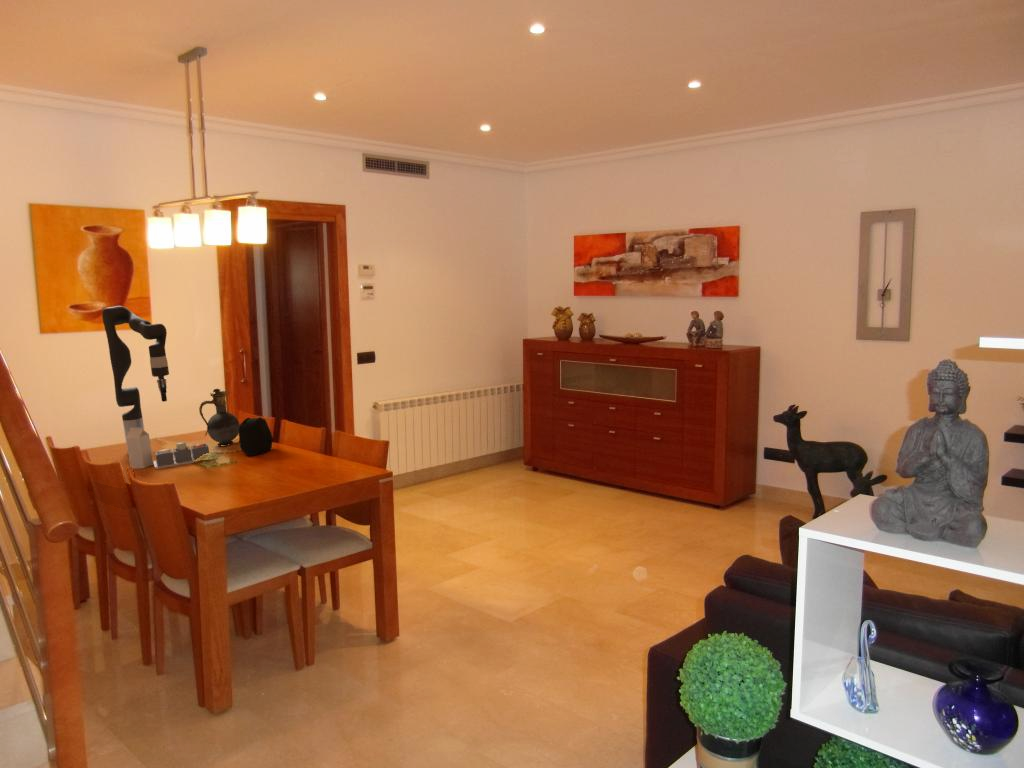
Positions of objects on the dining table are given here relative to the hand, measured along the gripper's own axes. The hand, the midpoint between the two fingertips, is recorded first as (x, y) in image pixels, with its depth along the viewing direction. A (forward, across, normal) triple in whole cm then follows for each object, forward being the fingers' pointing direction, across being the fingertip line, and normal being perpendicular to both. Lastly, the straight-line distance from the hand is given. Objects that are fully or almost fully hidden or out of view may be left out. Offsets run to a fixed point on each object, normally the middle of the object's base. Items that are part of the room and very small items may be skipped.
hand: (164, 401), depth 370 cm
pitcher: (+29, -12, +25) cm, 40 cm away
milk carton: (+29, +4, -14) cm, 33 cm away
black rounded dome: (+29, +16, +37) cm, 50 cm away
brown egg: (+27, +8, +12) cm, 31 cm away
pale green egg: (+25, +8, +4) cm, 27 cm away
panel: (+29, +8, +4) cm, 30 cm away
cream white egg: (+27, +8, -4) cm, 29 cm away
